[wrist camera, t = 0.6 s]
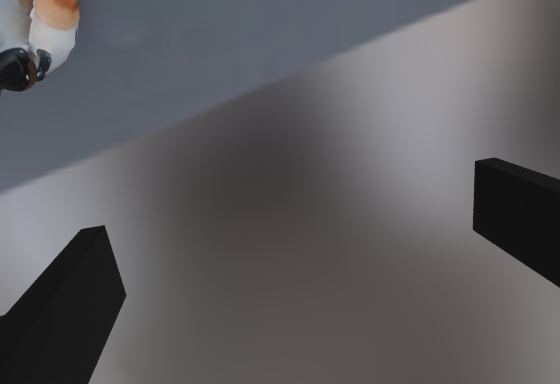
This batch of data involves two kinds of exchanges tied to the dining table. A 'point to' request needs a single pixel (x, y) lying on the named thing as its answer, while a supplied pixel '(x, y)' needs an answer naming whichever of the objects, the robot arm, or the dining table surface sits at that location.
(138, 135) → the dining table surface
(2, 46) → the lucky cat figurine
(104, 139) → the dining table surface
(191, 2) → the dining table surface
